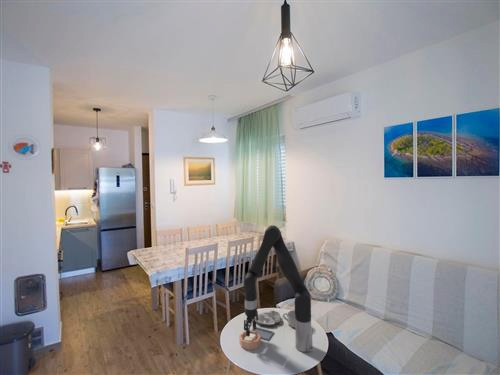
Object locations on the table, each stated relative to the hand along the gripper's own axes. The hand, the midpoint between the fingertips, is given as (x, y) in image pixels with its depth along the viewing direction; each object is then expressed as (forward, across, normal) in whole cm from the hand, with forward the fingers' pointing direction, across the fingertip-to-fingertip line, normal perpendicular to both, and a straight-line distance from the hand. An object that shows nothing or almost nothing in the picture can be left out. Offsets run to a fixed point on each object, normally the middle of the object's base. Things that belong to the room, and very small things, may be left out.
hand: (251, 332), depth 161 cm
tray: (+6, +10, -2) cm, 11 cm away
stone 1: (+6, -4, 0) cm, 7 cm away
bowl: (+6, -2, 0) cm, 6 cm away
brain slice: (+7, +26, 0) cm, 27 cm away
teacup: (+6, +29, -17) cm, 34 cm away
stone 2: (+6, 0, 0) cm, 6 cm away
